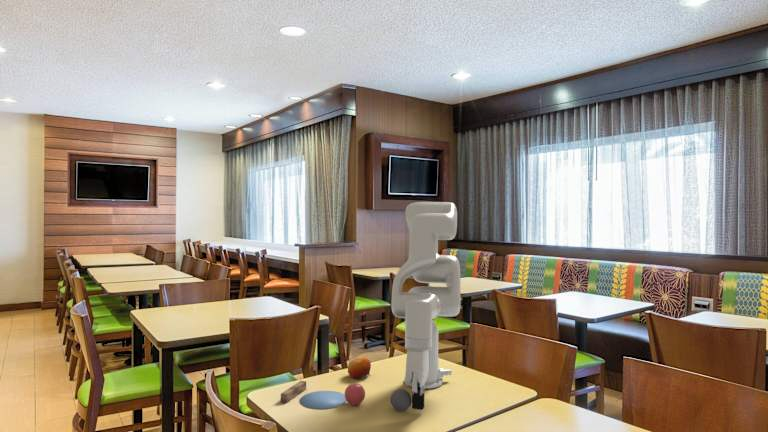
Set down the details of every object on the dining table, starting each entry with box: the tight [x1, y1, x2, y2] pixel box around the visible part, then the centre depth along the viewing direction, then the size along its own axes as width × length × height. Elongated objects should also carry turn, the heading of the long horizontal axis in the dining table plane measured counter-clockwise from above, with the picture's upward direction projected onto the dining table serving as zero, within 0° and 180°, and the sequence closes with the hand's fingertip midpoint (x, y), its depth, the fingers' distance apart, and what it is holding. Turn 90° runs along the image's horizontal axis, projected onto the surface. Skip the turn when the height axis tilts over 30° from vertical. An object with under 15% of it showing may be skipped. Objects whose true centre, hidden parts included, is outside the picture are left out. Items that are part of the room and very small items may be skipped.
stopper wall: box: [280, 380, 307, 404], centre depth 148 cm, size 12×2×2 cm, turn 161°
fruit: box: [347, 355, 372, 380], centre depth 166 cm, size 8×8×8 cm
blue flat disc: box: [299, 390, 348, 410], centre depth 145 cm, size 14×14×1 cm
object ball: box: [344, 382, 366, 406], centre depth 142 cm, size 6×6×6 cm
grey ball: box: [390, 388, 412, 413], centre depth 137 cm, size 6×6×6 cm
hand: (418, 408), depth 136 cm, fingers closed
